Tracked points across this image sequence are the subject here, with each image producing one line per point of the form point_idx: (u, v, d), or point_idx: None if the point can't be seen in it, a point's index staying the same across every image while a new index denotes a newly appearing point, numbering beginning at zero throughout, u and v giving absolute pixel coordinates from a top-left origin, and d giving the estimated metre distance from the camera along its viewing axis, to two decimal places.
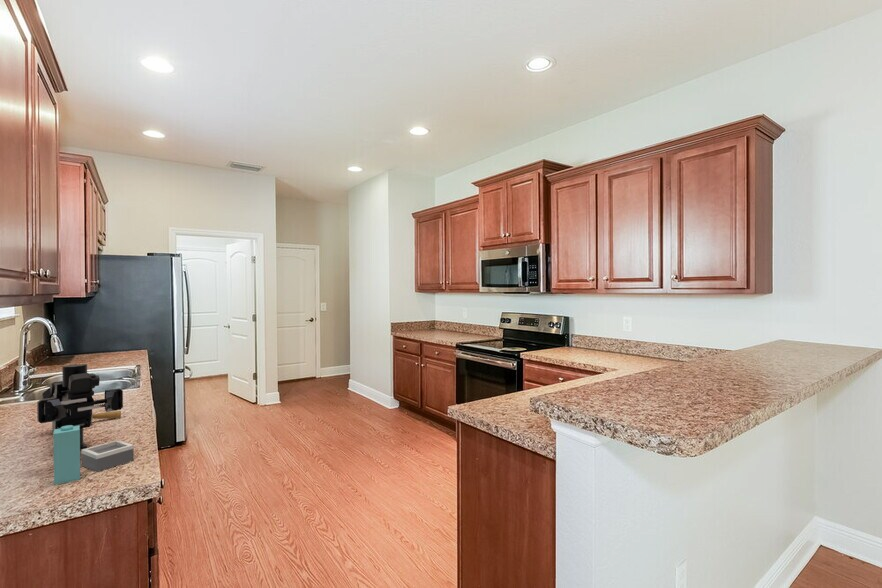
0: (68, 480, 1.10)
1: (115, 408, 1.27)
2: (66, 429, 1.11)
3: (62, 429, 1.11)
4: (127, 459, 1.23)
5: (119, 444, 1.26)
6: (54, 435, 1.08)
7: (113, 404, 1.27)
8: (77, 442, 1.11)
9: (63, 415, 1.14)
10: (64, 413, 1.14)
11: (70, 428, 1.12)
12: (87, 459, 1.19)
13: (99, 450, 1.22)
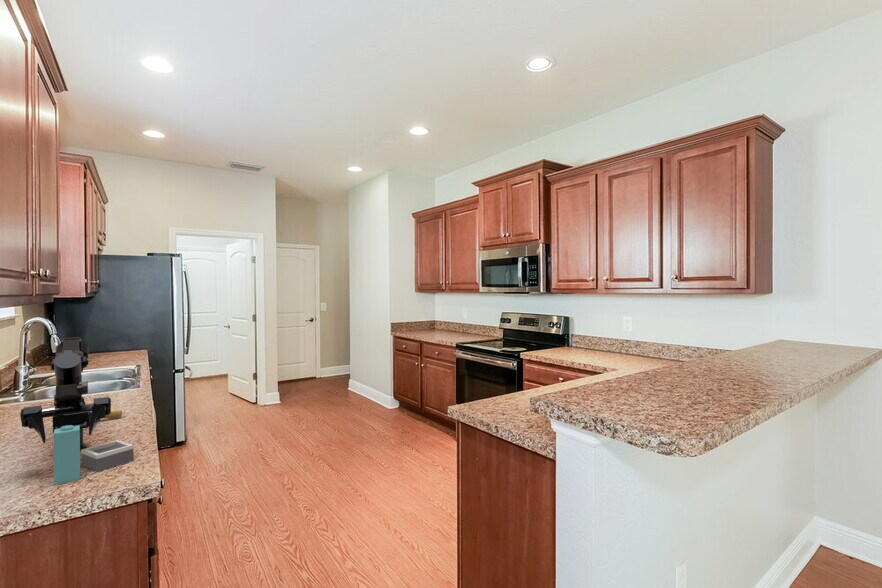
0: (68, 480, 1.10)
1: (102, 417, 1.24)
2: (66, 429, 1.11)
3: (62, 429, 1.11)
4: (127, 459, 1.23)
5: (119, 444, 1.26)
6: (54, 435, 1.08)
7: (99, 414, 1.23)
8: (77, 442, 1.11)
9: (42, 440, 1.12)
10: (42, 440, 1.12)
11: (70, 428, 1.12)
12: (87, 459, 1.19)
13: (99, 450, 1.22)
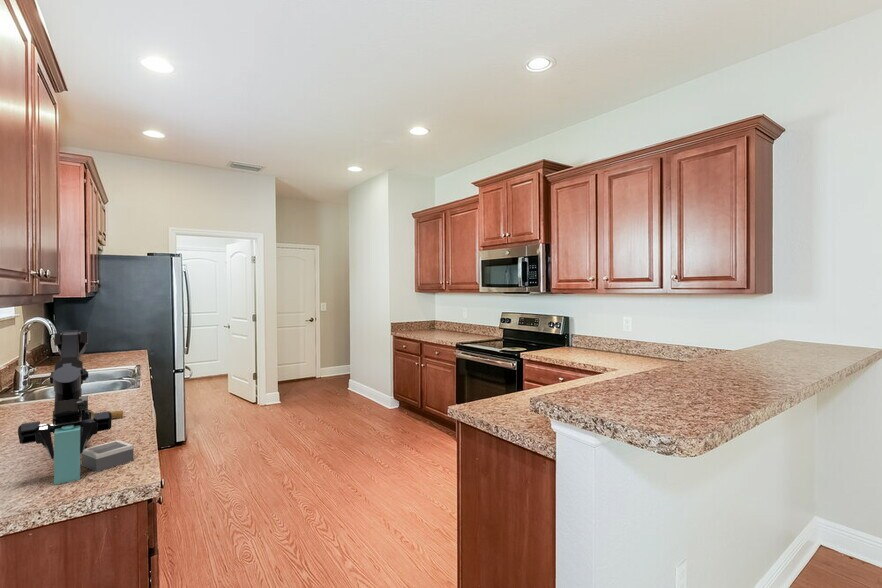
0: (68, 480, 1.10)
1: (94, 433, 1.19)
2: (67, 429, 1.11)
3: (63, 429, 1.11)
4: (127, 459, 1.23)
5: (119, 444, 1.26)
6: (55, 435, 1.08)
7: (91, 431, 1.18)
8: (78, 442, 1.11)
9: (50, 455, 1.10)
10: (50, 456, 1.09)
11: (71, 428, 1.12)
12: (87, 459, 1.19)
13: (99, 450, 1.22)
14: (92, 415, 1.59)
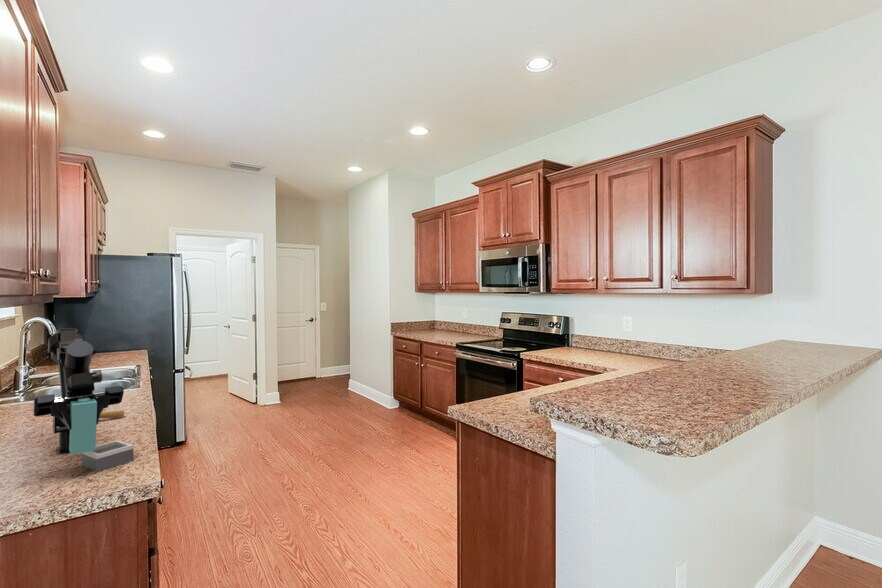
0: (84, 450, 1.14)
1: (105, 407, 1.23)
2: (84, 401, 1.15)
3: (80, 401, 1.14)
4: (127, 459, 1.23)
5: (119, 444, 1.26)
6: (73, 406, 1.12)
7: (103, 404, 1.22)
8: (94, 414, 1.15)
9: (67, 426, 1.13)
10: (68, 427, 1.12)
11: (87, 400, 1.15)
12: (87, 459, 1.19)
13: (99, 450, 1.22)
14: None
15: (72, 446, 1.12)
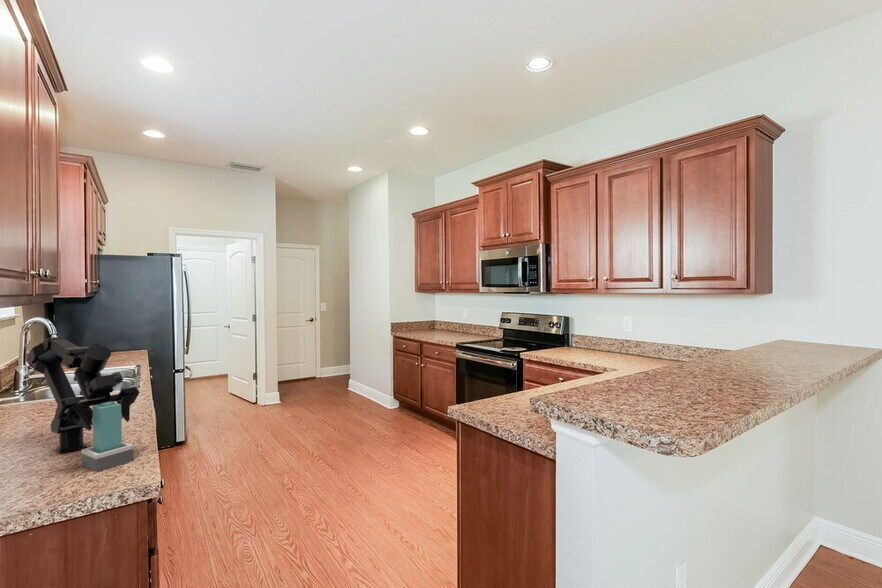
0: None
1: None
2: (108, 404, 1.22)
3: (104, 405, 1.21)
4: (127, 459, 1.23)
5: None
6: (101, 409, 1.19)
7: None
8: (119, 415, 1.23)
9: (86, 428, 1.18)
10: (88, 428, 1.17)
11: (111, 403, 1.22)
12: (87, 459, 1.19)
13: None
14: None
15: (101, 447, 1.19)
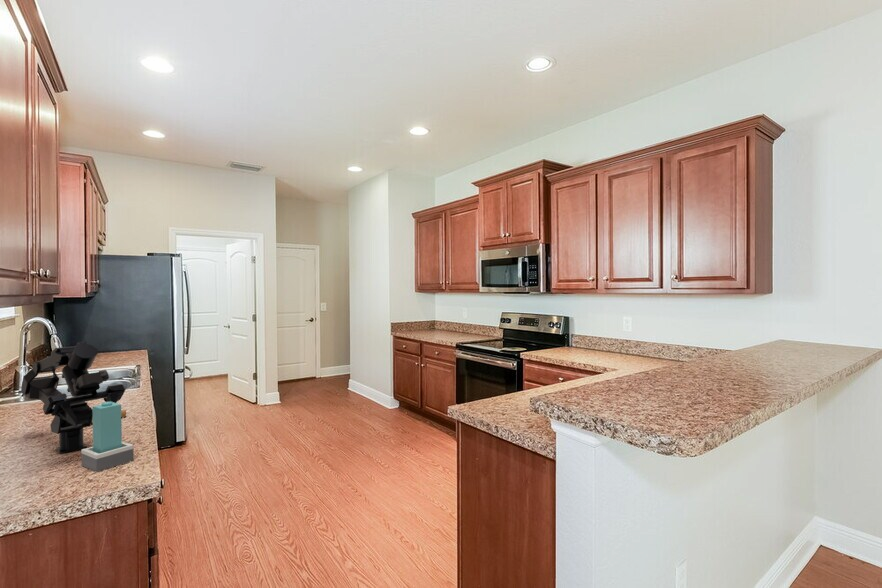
0: None
1: None
2: (108, 404, 1.22)
3: (104, 405, 1.21)
4: (127, 459, 1.23)
5: None
6: (101, 409, 1.19)
7: None
8: (119, 415, 1.23)
9: (72, 423, 1.22)
10: (74, 423, 1.22)
11: (111, 403, 1.22)
12: (87, 459, 1.19)
13: None
14: None
15: (101, 447, 1.19)
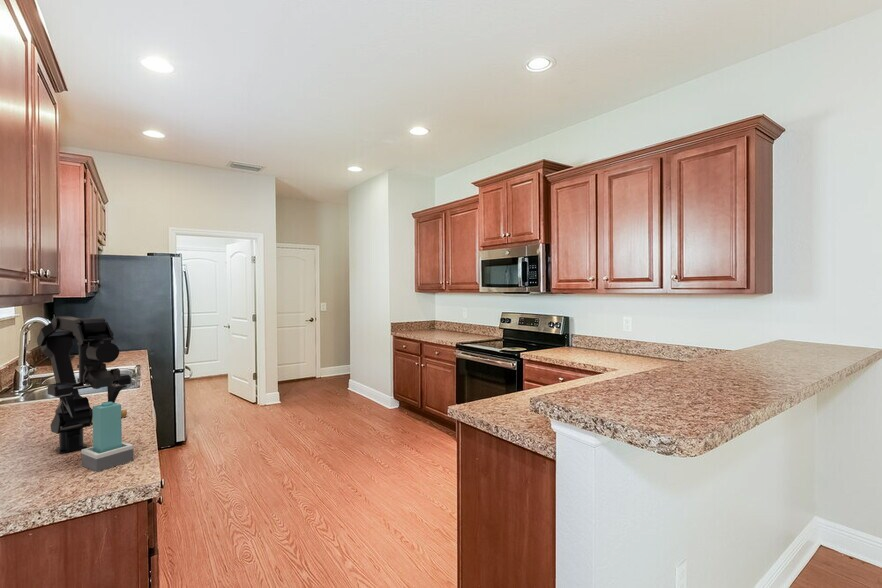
0: None
1: None
2: (108, 404, 1.22)
3: (104, 405, 1.21)
4: (127, 459, 1.23)
5: None
6: (101, 409, 1.19)
7: None
8: (119, 415, 1.23)
9: (69, 413, 1.23)
10: (71, 415, 1.22)
11: (111, 403, 1.22)
12: (87, 459, 1.19)
13: None
14: None
15: (101, 447, 1.19)
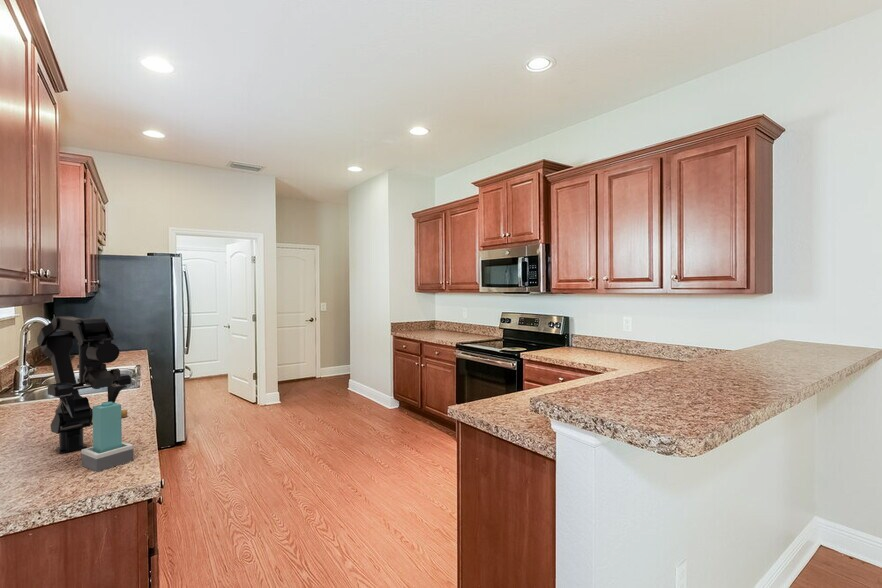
0: None
1: None
2: (108, 404, 1.22)
3: (104, 405, 1.21)
4: (127, 459, 1.23)
5: None
6: (101, 409, 1.19)
7: None
8: (119, 415, 1.23)
9: (69, 413, 1.23)
10: (71, 415, 1.22)
11: (111, 403, 1.22)
12: (87, 459, 1.19)
13: None
14: None
15: (101, 447, 1.19)
